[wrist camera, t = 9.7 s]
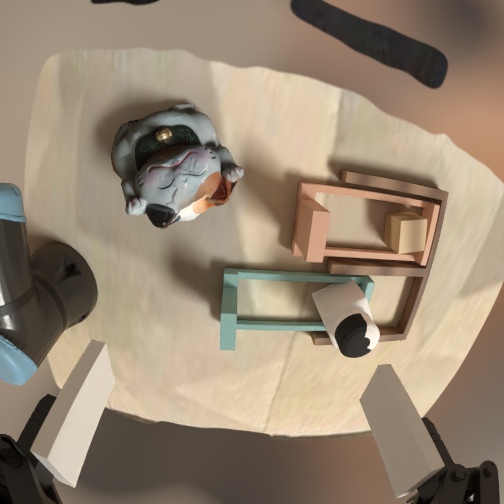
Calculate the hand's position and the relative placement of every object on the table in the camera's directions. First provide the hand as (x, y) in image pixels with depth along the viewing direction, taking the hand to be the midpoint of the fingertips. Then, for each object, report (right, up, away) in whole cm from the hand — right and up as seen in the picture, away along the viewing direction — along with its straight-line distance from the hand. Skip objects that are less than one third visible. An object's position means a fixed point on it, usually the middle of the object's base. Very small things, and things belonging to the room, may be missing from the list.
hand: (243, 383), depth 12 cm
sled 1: (+18, +10, +28) cm, 35 cm away
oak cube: (+24, +10, +29) cm, 39 cm away
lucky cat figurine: (-9, +19, +24) cm, 32 cm away
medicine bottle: (+15, -2, +34) cm, 37 cm away
